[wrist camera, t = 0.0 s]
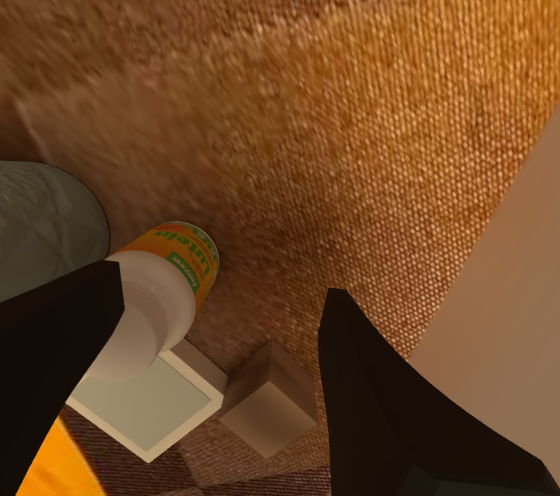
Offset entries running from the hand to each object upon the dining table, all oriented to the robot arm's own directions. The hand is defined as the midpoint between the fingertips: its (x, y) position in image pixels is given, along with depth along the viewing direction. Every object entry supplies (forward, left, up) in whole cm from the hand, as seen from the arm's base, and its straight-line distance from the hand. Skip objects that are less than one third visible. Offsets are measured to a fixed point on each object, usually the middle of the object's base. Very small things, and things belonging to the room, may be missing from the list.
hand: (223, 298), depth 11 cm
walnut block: (-7, -9, -11) cm, 16 cm away
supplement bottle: (-5, +2, -11) cm, 12 cm away
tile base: (-14, -3, -11) cm, 18 cm away
